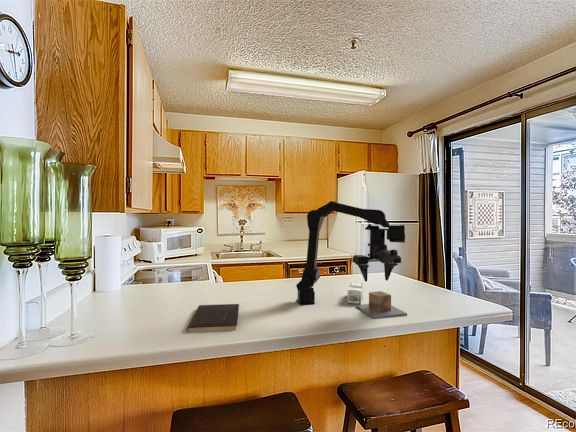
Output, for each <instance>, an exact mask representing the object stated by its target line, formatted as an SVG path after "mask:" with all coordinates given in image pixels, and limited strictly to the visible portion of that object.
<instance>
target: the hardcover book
mask: <svg viewBox="0 0 576 432" xmlns="http://www.w3.org/2000/svg"><path fill="white" fill-rule="evenodd" d="M239 307H240V304H239V303H229V304H227V303H226V304H225V303H223V304H200V305H198V306H197V308H196V311H195V312H194V313H193V315H192V318H191V320H190V322H189V323H188V325H187V328H186V333H195V332H197V333H199V332H217V331H236V330H237V326H238V321H239V320H238V319H239V310H240V308H239Z"/></svg>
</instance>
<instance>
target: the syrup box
mask: <svg viewBox="0 0 576 432" xmlns="http://www.w3.org/2000/svg"><path fill="white" fill-rule="evenodd" d="M363 298H364V284H363V283H358V282H350V284H349V286H348V288H347V303H348V304H355V305H362V301H363Z"/></svg>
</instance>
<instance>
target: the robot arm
mask: <svg viewBox="0 0 576 432" xmlns="http://www.w3.org/2000/svg"><path fill="white" fill-rule="evenodd" d="M334 212H336V213H337V212H338V213H340V214H344V215H347V216H348V215H349V216H354V217H357V218H359V219H360V218H361V219H362V220H365V221H366V222H369V223H368V225H367V226H366V227H365V228H364V230H366V231H367V230H368V231H369V242H368V243H367V247H369V253H367V255H363V254H356V255H355V254H353V256H352V258H351V259H352V260H351V261H352V263H354V264H355V265H357V267H358V268H359V270H360V273H361V274H362V278H363V279H364V282H365V283H366V282H368V268H369V266H370V265H369V264H368V263H369V262H371V263H372V262H379V263H381V264H383V266H384V267H383V268H384V279H385V281H389V278H390V277H391V274H392V271H393V269H394V268H395V267H396V266H399V264H402V257H401V256H400V255H398V250H397V249H388V246H387V244H385V243H386V240H388V241H389V243H398V244H399V243H401V244H405V243H406V232H405V224H400V225H395V224H394V225H393V224H390V222H388V220H387V218H386V213H385V212H384V211H383V210H381V209H371V208H370V209H369V208H361V207H357V206H353V205H348V204H344V203H339V202H337V201H331V200H330V201H329V202H327V203H326V204H324V205H322V206H321V207H319V208H317V209H313V210H312V209H311V210H309V212H307V215H306V222H307V227H308V241H307V254H306V264H305V267H304V269H303V272H302V276H301V280H300V281H298V282H297V284H296V285H295V287H296V290H297V299H295V300H296V302H297V303H298V304H299V305H302V306H304V305H315V303H316V302H315V301H316V300H315V299H316V298H315V292H316V291H314V285H315V284H316V283H317V282H318V281H319V279H320V278H321V273H320V272H321V268H320V267H319V268H318V264H317V263H318V251H319V239H320V238H319V237H320V231H321V229H322V226H323V222H324V219H325V218H326V217H327V216H329V215H330V214H331V213H334ZM372 224H374V225H372ZM379 225H380V226H381V227H382V228H381V227H380V226H379Z"/></svg>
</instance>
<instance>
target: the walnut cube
mask: <svg viewBox="0 0 576 432" xmlns="http://www.w3.org/2000/svg"><path fill="white" fill-rule="evenodd" d="M368 304H369V308H371V309H373V310H375V311H377V312H381V311H390V310H391V305H392V294H390V293H388V292H385V291H381V290H379V291H370V292H369V291H368Z"/></svg>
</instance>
